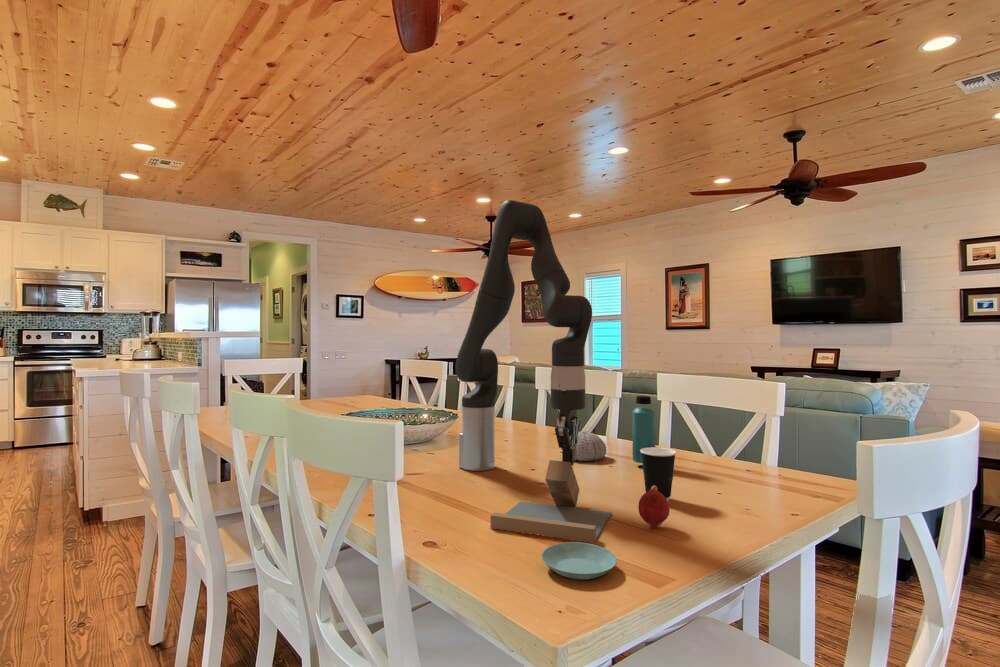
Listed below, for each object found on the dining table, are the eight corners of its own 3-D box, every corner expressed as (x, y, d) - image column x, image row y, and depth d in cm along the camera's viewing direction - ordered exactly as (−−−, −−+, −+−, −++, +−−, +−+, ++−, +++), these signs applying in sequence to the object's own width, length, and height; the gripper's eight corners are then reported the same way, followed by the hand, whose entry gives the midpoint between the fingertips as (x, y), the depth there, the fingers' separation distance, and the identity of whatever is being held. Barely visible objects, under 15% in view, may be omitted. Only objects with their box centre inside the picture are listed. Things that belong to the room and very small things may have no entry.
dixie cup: (634, 495, 127) (634, 447, 127) (666, 493, 128) (666, 446, 128) (649, 505, 119) (649, 455, 119) (683, 503, 120) (683, 454, 120)
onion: (664, 534, 102) (664, 491, 102) (634, 528, 105) (634, 487, 105) (672, 525, 107) (672, 484, 107) (643, 520, 110) (643, 480, 110)
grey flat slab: (490, 528, 105) (490, 515, 105) (520, 503, 121) (520, 491, 121) (593, 543, 97) (593, 529, 97) (611, 514, 113) (611, 502, 113)
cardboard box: (555, 505, 119) (545, 479, 112) (559, 487, 122) (549, 460, 115) (576, 508, 117) (566, 481, 110) (579, 489, 120) (570, 462, 113)
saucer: (626, 586, 81) (626, 571, 81) (548, 589, 80) (548, 573, 80) (604, 554, 93) (604, 541, 93) (536, 556, 92) (536, 543, 92)
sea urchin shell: (561, 462, 160) (561, 435, 160) (563, 452, 173) (563, 427, 173) (607, 464, 158) (607, 436, 158) (606, 454, 171) (606, 428, 171)
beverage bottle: (658, 469, 152) (658, 397, 152) (634, 469, 152) (634, 397, 152) (652, 463, 158) (652, 394, 158) (629, 463, 158) (629, 394, 158)
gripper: (559, 383, 127) (559, 458, 126) (542, 388, 114) (542, 471, 114) (591, 384, 124) (591, 461, 124) (577, 390, 111) (577, 475, 111)
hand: (568, 466), depth 119 cm, fingers closed
